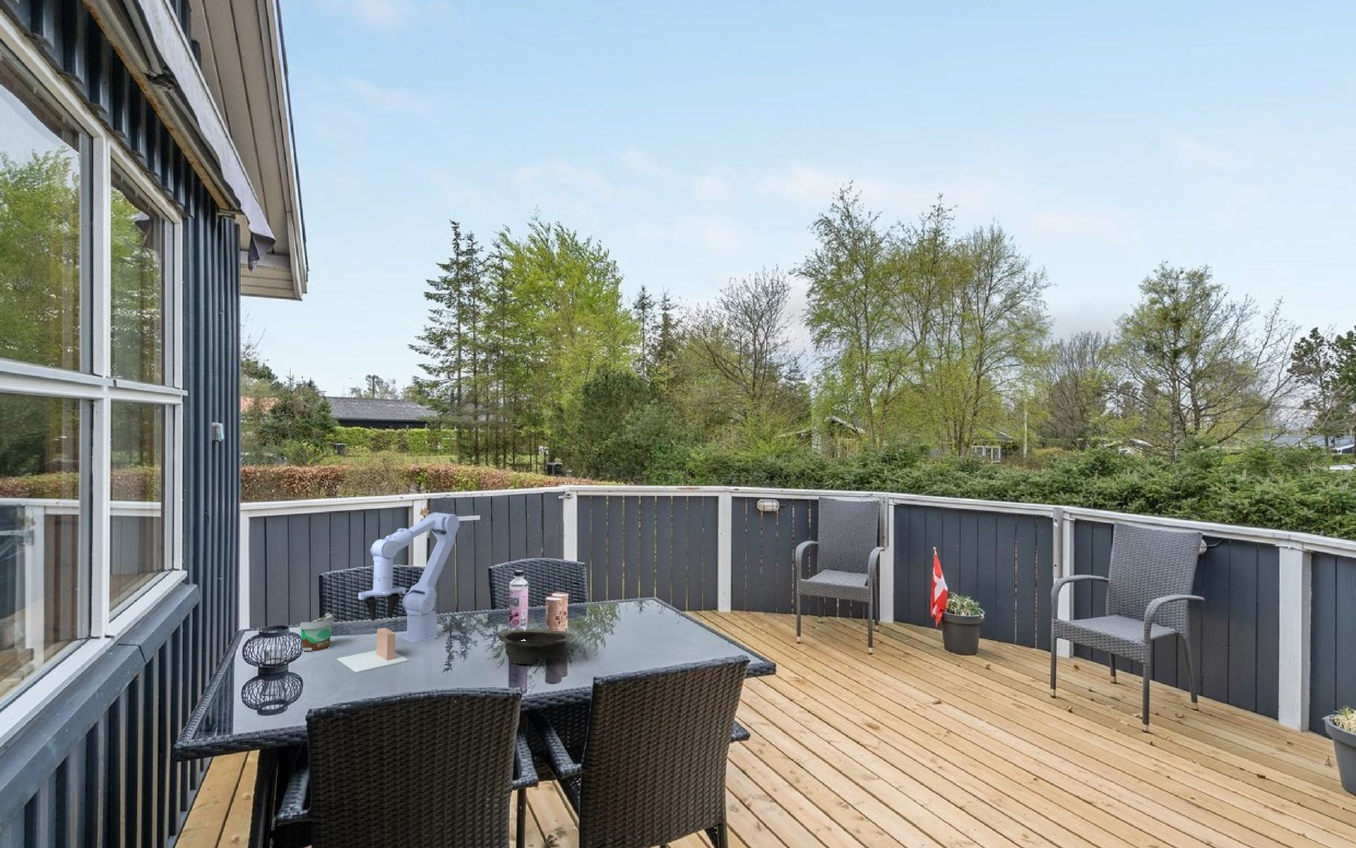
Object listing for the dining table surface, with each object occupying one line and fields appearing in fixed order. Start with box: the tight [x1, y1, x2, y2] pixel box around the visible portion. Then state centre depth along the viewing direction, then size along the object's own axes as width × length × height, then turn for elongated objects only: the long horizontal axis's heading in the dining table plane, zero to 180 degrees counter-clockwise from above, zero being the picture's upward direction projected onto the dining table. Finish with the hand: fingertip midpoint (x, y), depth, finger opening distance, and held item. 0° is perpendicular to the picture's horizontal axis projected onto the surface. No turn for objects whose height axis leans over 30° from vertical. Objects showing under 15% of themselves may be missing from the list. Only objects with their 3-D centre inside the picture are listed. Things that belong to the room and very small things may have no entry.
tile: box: [376, 627, 396, 660], centre depth 218 cm, size 3×8×8 cm, turn 45°
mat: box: [334, 648, 411, 674], centre depth 215 cm, size 16×18×1 cm
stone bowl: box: [496, 628, 576, 665], centre depth 222 cm, size 25×25×9 cm
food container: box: [299, 612, 335, 653], centre depth 225 cm, size 12×6×10 cm, turn 168°
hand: (381, 618), depth 224 cm, fingers open, 5 cm apart
